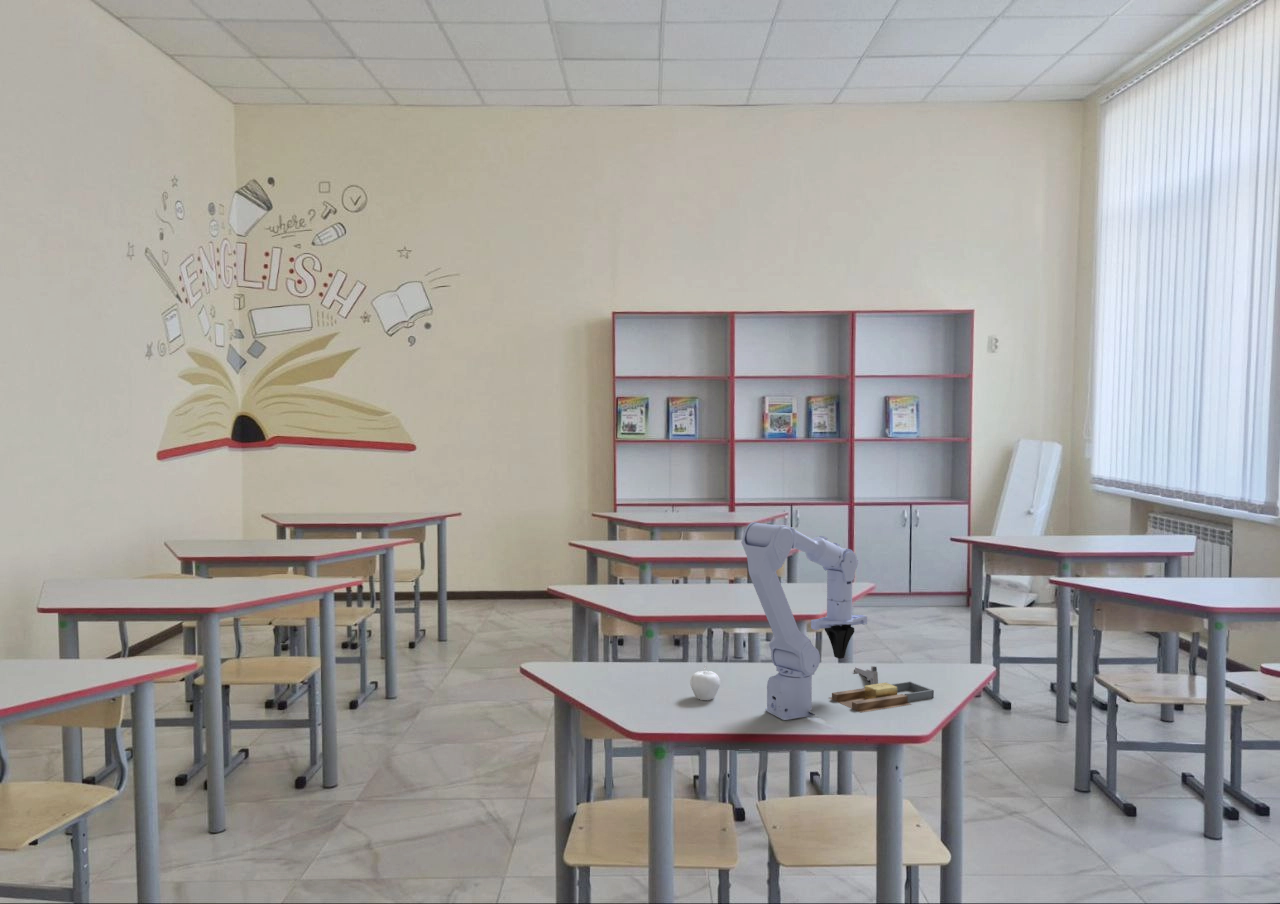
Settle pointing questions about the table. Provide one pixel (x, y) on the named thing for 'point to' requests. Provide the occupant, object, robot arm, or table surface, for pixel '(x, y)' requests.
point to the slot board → (868, 700)
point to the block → (879, 690)
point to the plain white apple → (705, 684)
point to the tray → (919, 690)
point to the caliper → (869, 674)
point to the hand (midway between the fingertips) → (839, 657)
